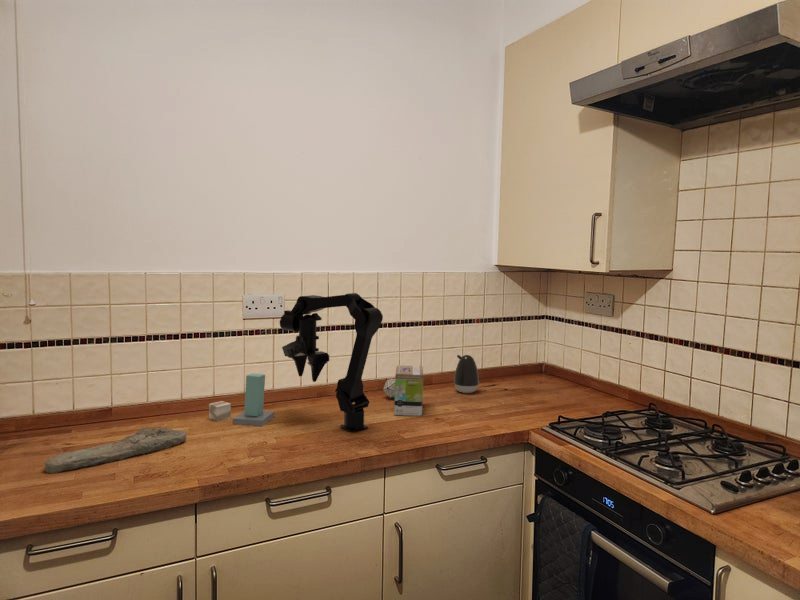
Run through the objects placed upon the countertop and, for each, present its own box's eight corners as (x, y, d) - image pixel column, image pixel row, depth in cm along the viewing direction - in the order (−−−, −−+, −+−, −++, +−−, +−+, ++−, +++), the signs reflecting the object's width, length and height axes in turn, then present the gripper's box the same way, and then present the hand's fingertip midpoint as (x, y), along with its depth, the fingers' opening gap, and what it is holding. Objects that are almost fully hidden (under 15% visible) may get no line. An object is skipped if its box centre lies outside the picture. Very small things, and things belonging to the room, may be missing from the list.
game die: (397, 408, 204) (405, 392, 198) (376, 400, 203) (384, 383, 198) (402, 392, 211) (409, 375, 205) (382, 384, 211) (389, 367, 205)
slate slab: (274, 418, 179) (274, 411, 179) (261, 428, 169) (261, 420, 169) (246, 416, 181) (246, 409, 180) (232, 426, 171) (232, 418, 171)
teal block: (263, 413, 177) (265, 374, 176) (257, 416, 172) (259, 376, 172) (250, 411, 177) (252, 373, 177) (244, 415, 173) (246, 375, 173)
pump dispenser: (465, 387, 223) (466, 351, 222) (483, 392, 215) (485, 355, 214) (448, 390, 217) (448, 354, 215) (466, 396, 209) (467, 358, 207)
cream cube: (230, 418, 177) (230, 403, 176) (217, 421, 173) (217, 406, 173) (222, 415, 180) (222, 400, 180) (209, 418, 176) (209, 403, 176)
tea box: (422, 416, 182) (423, 374, 181) (393, 415, 182) (394, 373, 181) (422, 404, 197) (422, 364, 196) (395, 403, 197) (395, 364, 196)
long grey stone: (41, 471, 136) (49, 486, 129) (39, 452, 135) (47, 465, 128) (178, 434, 160) (192, 444, 153) (177, 417, 159) (191, 427, 152)
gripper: (272, 331, 179) (272, 376, 180) (299, 339, 165) (299, 388, 166) (302, 328, 186) (301, 372, 188) (330, 336, 172) (329, 383, 173)
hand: (307, 378), depth 178 cm, fingers open, 9 cm apart
